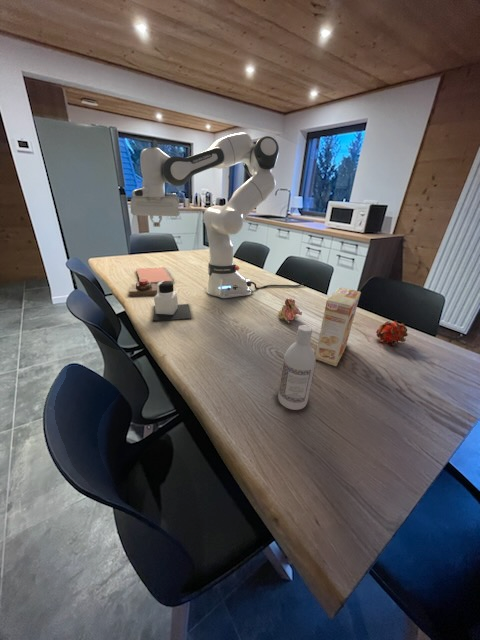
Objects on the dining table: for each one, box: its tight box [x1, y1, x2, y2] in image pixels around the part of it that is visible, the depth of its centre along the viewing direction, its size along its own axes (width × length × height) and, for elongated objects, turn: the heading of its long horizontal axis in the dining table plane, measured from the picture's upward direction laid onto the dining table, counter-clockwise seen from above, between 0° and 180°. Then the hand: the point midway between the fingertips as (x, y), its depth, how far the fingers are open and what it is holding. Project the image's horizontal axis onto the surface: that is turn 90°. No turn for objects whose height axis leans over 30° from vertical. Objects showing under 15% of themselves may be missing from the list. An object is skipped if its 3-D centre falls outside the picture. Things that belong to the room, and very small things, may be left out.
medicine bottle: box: [153, 281, 179, 315], centre depth 104 cm, size 7×7×12 cm
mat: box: [152, 303, 192, 322], centre depth 106 cm, size 14×14×1 cm
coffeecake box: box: [314, 287, 362, 367], centre depth 81 cm, size 15×7×20 cm, turn 148°
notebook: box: [136, 266, 175, 284], centre depth 146 cm, size 27×17×2 cm, turn 24°
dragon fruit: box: [375, 320, 408, 346], centre depth 92 cm, size 8×8×12 cm
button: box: [138, 279, 148, 285], centre depth 123 cm, size 4×4×2 cm
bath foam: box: [277, 324, 316, 411], centre depth 60 cm, size 7×7×20 cm
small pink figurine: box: [277, 297, 303, 324], centre depth 105 cm, size 9×10×10 cm
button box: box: [128, 281, 158, 297], centre depth 125 cm, size 12×10×4 cm
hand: (156, 226), depth 118 cm, fingers closed
